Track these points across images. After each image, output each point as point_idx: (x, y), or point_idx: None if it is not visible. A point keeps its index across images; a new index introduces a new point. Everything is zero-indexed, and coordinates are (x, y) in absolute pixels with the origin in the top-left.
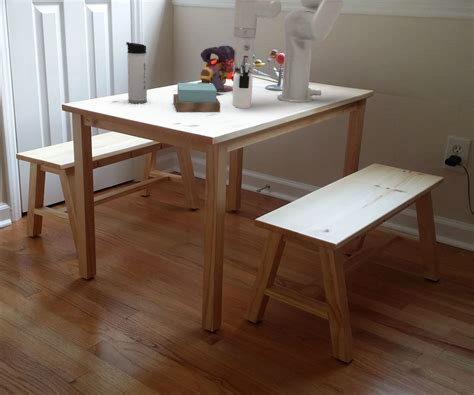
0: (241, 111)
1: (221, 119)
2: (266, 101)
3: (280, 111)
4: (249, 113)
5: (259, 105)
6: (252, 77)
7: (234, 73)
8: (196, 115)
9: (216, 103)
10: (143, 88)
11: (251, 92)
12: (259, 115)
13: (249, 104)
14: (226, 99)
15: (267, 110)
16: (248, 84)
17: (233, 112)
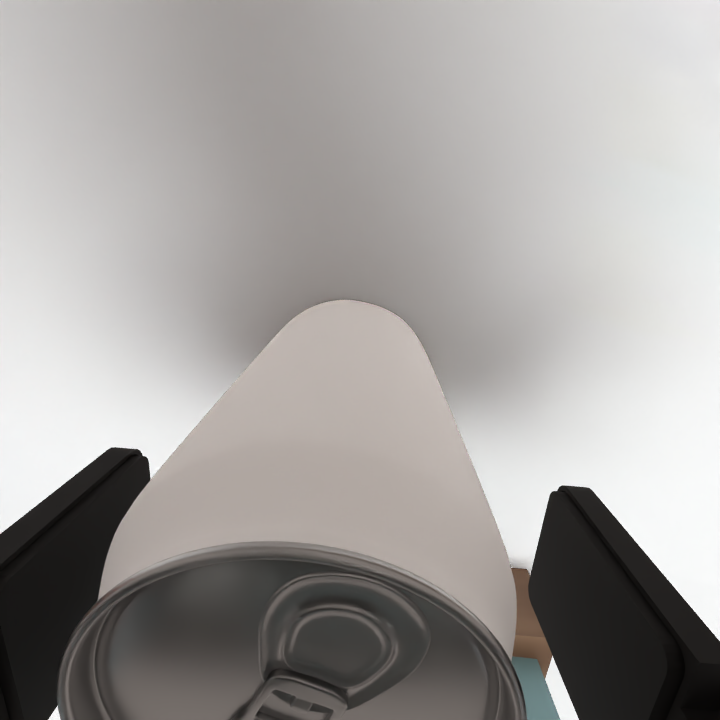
0: (505, 419)
1: (705, 597)
2: (75, 36)
3: (587, 26)
4: (589, 376)
5: (283, 188)
6: (396, 450)
7: (46, 706)
8: (556, 691)
9: (549, 655)
10: None
11: (406, 354)
12: (685, 313)
13: (418, 340)
14: (52, 424)
15: (512, 171)
16: (614, 525)
17: (526, 483)
